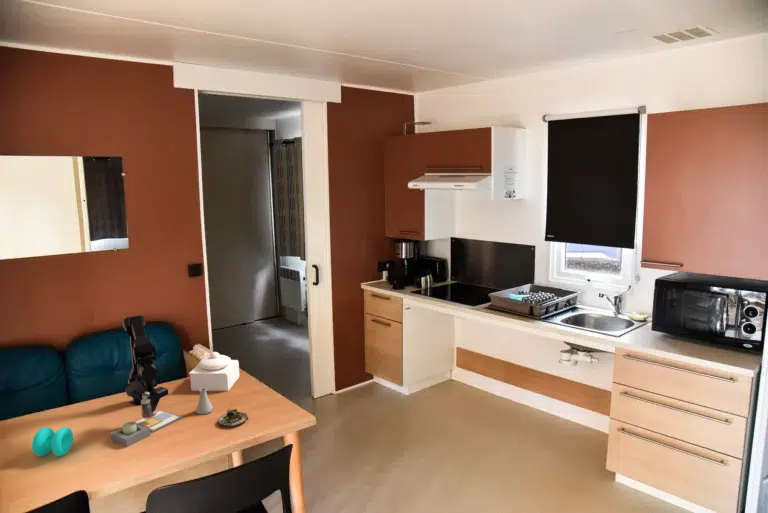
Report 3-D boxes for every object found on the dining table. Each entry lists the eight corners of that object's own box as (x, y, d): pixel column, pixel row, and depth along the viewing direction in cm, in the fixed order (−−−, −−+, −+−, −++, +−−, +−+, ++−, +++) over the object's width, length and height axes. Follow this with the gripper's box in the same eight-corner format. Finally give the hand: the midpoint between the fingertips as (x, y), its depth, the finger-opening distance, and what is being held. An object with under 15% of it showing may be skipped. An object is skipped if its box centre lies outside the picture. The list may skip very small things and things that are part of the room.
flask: (216, 407, 231) (214, 385, 229) (209, 415, 224) (207, 392, 222) (200, 407, 232) (198, 385, 230) (192, 414, 225) (190, 392, 223)
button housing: (110, 440, 204) (109, 433, 203) (134, 429, 212) (133, 422, 212) (127, 447, 199) (126, 439, 198) (150, 435, 207) (149, 428, 207)
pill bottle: (139, 416, 216) (137, 394, 214) (152, 412, 220) (150, 389, 218) (146, 420, 212) (144, 397, 211) (159, 415, 216) (157, 393, 215)
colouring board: (130, 424, 217) (130, 422, 216) (160, 410, 228) (160, 409, 228) (153, 432, 210) (153, 430, 209) (182, 418, 222) (182, 416, 221)
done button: (120, 435, 205) (119, 425, 204) (132, 430, 209) (131, 420, 208) (128, 438, 202) (127, 428, 201) (139, 433, 206) (138, 423, 206)
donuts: (50, 447, 200) (47, 422, 198) (76, 447, 199) (73, 422, 198) (32, 461, 190) (28, 435, 188) (59, 461, 190) (56, 435, 188)
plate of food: (216, 430, 211) (215, 412, 210) (219, 417, 222) (218, 400, 221) (247, 427, 214) (246, 409, 212) (248, 414, 225) (247, 397, 224)
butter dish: (228, 391, 248) (226, 358, 246) (190, 391, 249) (187, 359, 246) (239, 376, 265) (237, 346, 263) (204, 376, 266) (201, 346, 264)
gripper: (112, 375, 211) (116, 412, 213) (142, 384, 201) (146, 422, 204) (137, 366, 220) (141, 401, 223) (167, 374, 211) (170, 411, 214)
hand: (149, 409), depth 216 cm, fingers closed on pill bottle, 5 cm apart
